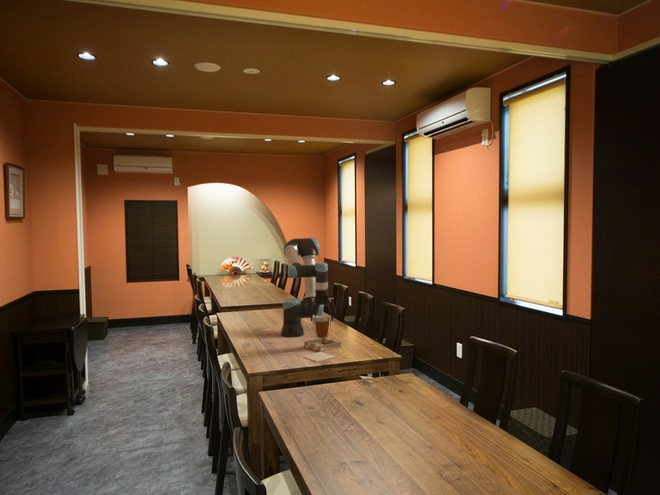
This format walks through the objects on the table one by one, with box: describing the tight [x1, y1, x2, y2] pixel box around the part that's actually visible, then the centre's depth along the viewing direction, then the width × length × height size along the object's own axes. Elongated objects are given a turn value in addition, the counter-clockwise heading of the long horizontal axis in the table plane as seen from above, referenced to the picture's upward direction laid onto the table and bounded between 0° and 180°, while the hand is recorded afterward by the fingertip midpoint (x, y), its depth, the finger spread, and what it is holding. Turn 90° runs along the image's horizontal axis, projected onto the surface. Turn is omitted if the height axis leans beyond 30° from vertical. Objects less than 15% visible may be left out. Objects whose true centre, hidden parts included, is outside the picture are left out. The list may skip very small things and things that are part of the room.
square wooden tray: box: [303, 337, 342, 352], centre depth 278 cm, size 15×15×3 cm
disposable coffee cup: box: [314, 314, 330, 339], centre depth 278 cm, size 10×10×12 cm
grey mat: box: [302, 351, 336, 363], centre depth 257 cm, size 13×13×1 cm
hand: (322, 326), depth 278 cm, fingers closed on disposable coffee cup, 9 cm apart
